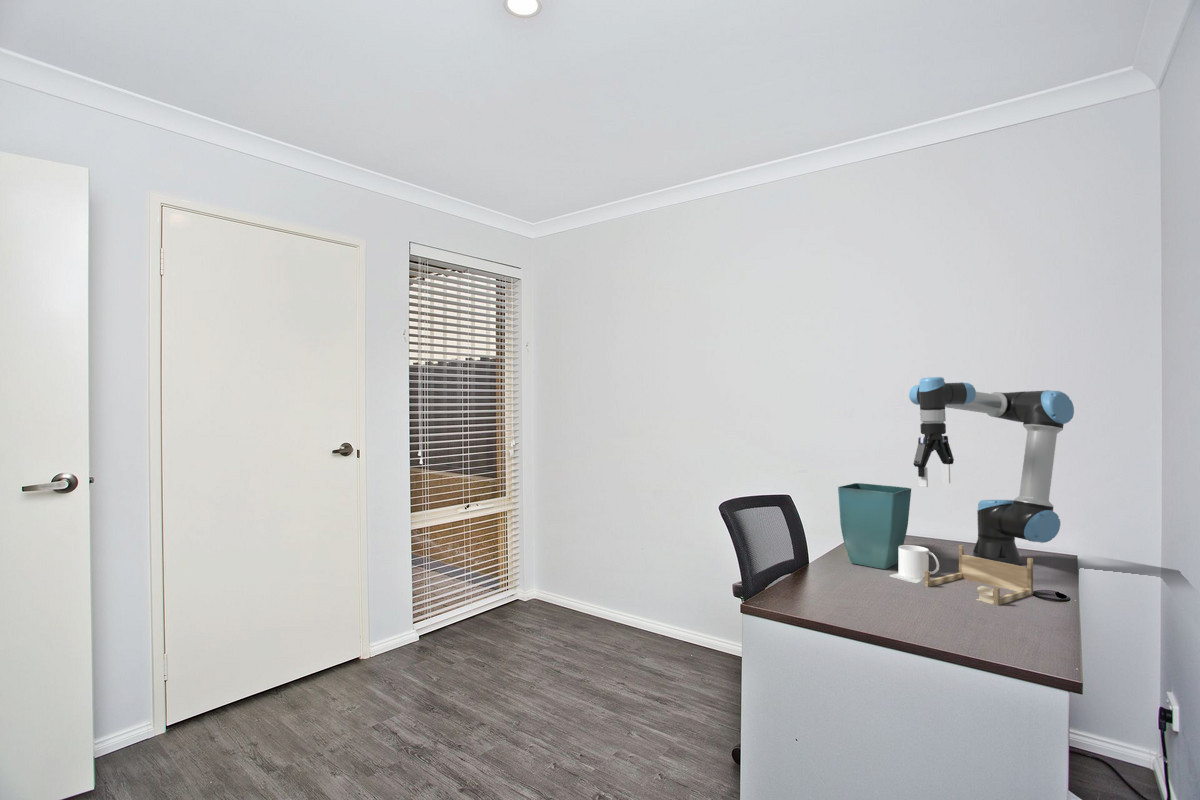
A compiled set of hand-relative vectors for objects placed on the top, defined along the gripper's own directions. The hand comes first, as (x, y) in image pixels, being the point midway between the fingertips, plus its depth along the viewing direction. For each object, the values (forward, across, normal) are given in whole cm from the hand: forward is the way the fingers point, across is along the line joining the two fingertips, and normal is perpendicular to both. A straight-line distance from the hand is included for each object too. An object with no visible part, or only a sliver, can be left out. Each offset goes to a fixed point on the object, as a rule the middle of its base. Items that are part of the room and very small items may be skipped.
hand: (934, 484), depth 201 cm
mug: (+31, +7, -2) cm, 32 cm away
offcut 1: (+28, +17, +24) cm, 40 cm away
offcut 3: (+32, +16, +24) cm, 43 cm away
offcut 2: (+30, +16, +24) cm, 41 cm away
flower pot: (+31, +3, -21) cm, 38 cm away
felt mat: (+31, +8, -2) cm, 32 cm away
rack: (+31, +8, +17) cm, 37 cm away
